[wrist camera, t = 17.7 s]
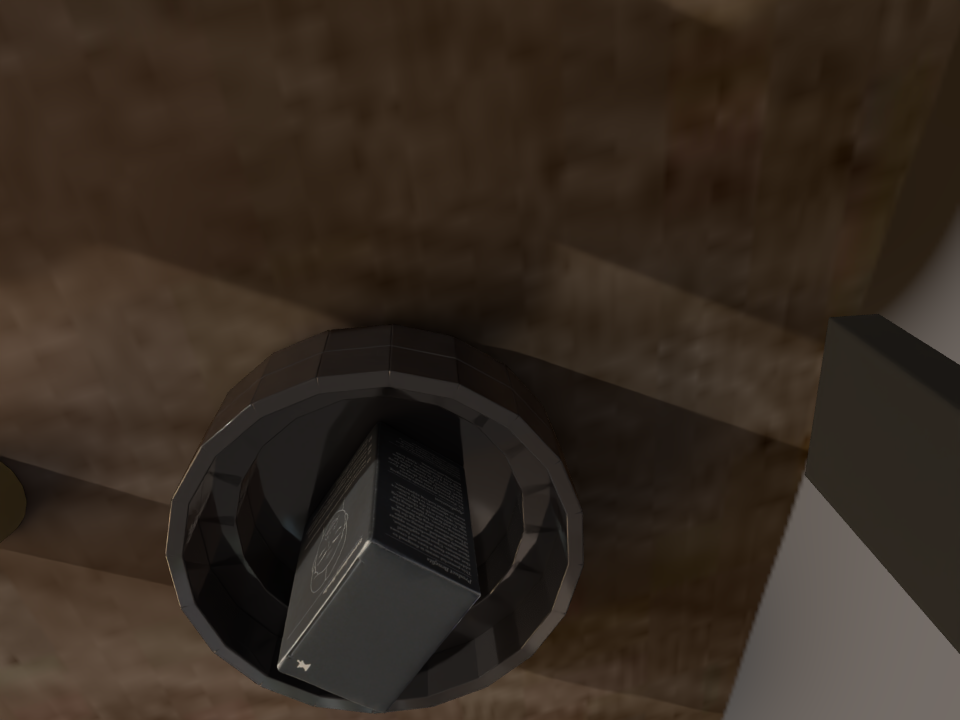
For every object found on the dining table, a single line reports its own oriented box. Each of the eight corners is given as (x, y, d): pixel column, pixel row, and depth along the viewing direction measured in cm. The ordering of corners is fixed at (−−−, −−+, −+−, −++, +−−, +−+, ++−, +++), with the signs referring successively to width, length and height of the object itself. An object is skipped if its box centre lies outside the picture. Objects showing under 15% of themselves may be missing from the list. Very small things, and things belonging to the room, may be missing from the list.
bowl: (240, 641, 46) (215, 732, 40) (165, 338, 38) (118, 395, 32) (564, 606, 47) (586, 690, 41) (555, 303, 39) (580, 352, 33)
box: (391, 566, 44) (384, 719, 34) (303, 523, 42) (269, 670, 33) (468, 465, 42) (485, 598, 32) (379, 415, 40) (367, 539, 30)
